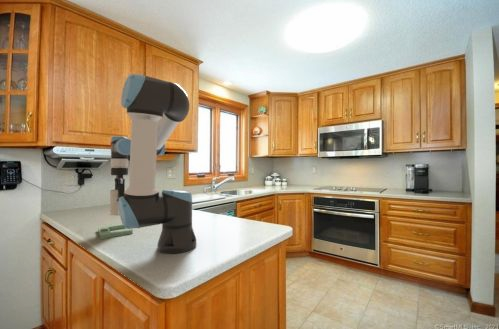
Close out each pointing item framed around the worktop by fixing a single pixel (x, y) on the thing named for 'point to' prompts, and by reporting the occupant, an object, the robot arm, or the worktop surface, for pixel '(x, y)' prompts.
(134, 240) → the worktop surface
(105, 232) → the deck
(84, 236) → the worktop surface
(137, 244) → the worktop surface
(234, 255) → the worktop surface
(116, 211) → the cup
